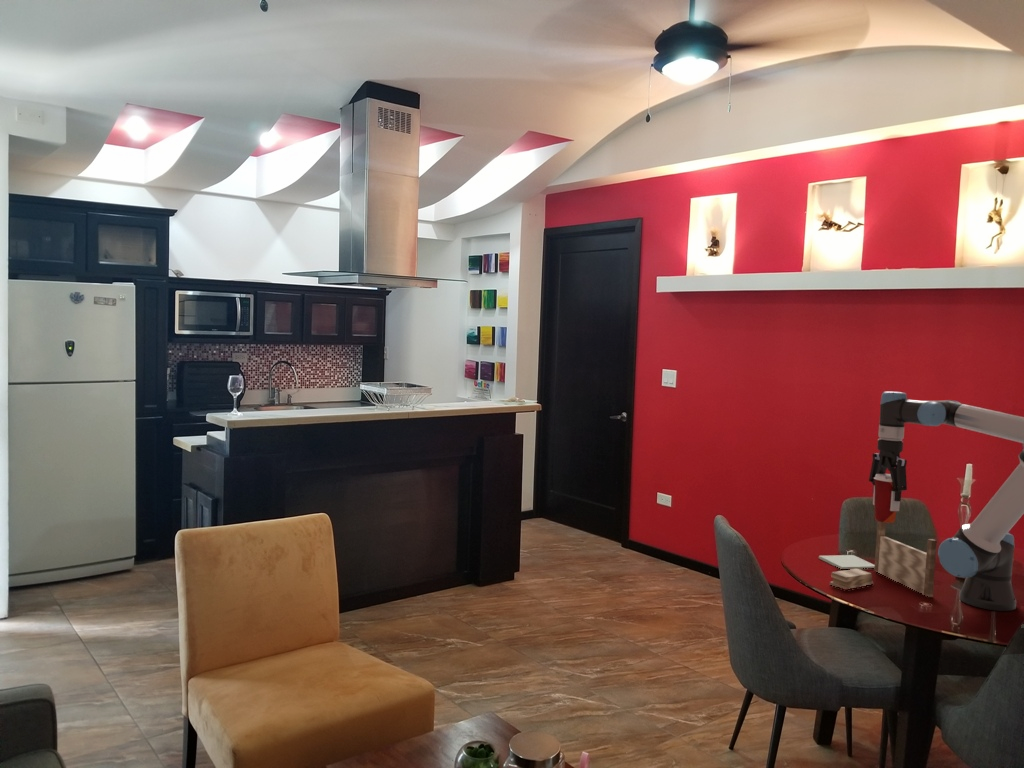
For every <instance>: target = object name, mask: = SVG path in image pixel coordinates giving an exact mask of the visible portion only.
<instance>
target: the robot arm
mask: <svg viewBox="0 0 1024 768" xmlns="http://www.w3.org/2000/svg"><path fill="white" fill-rule="evenodd" d="M907 395H908V394H907V393H906V392H901V391H883V392H882V394H881V395H880V396H881V398H880V404H879V406H880V407H879V422H878V423H879V424H878V437H879V438H878V439H877V444H876V445H877V447H876V448H877V450H878V451H879V452H878V453H877V452H876V453H875V452H874V453H872V463H871V468H870V473H869V477H868V481H869V482H870V483H871V484H872V495H873V496H872V505H873V506H875V479H874V477H875V475H876V474H886V472H887V470H888V472H889V474H891V479H892V481H893V482H892V484H893V490H892V493H891V507H890V511H896V512H900V507H901V506H900V505H901V501H902V492H903V491H907V489H908V485H907V484H908V483H907V482H908V480H907V463H908V460H907V459H904V458H901V455H900V454H901V453H902V452H903V449H904V441H903V439H905V437H904V436H905V425H906V424H916V425H922V426H926V427H939V426H941V425H948V426H952V427H956V428H961V429H966V430H967V431H968V430H969V431H973V432H975V433H976V432H977V433H980V434H981V433H982V434H983V435H984V434H985V435H989V436H992V437H997V438H1001V439H1005V440H1007V441H1008V440H1009V441H1013V442H1017V443H1020V444H1022V448H1023V449H1022V451H1021V452H1020V453H1019V454H1018V460H1019V464H1018V465H1017V466H1016V468H1014V470H1013V471H1012V472H1011V474H1010V475H1009V476H1008V477H1007V479H1006V480H1005V481H1004V482H1003V483H1002V485H1001V486H1000V487H999V489H998V490H997V491H996V492H995V494H994V495H993V496H992V497H991V498H990V499H989V501H988V503H987V504H986V505H985V506H984V507H983V508H982V510H981V511H980V512H979V514H978V515H977V516H976V517H975V518H974V520H973V521H972V522H971V523H964V524H962V525H961V527H960V528H959V529H958V530H957V531H956V533H955V534H954V535H953V536H952V537H948V538H945V540H943V541H942V542H941V543H940V545H939V547H938V550H937V556H938V558H939V563H940V565H941V566H942V568H943V569H944V570H945V571H946V572H947V573H948V574H950V575H952V576H953V577H957V578H965V579H964V582H963V585H962V587H961V588H960V589H959V593H958V595H959V597H958V599H959V600H960V601H961V602H963V603H965V604H967V605H969V606H972V607H975V608H979V609H985V610H988V611H989V610H990V611H997V612H1011V611H1015V610H1016V609H1017V599H1016V597H1015V592H1014V588H1013V585H1012V575H1013V563H1014V552H1015V547H1016V546H1015V537H1014V535H1013V534H1011V533H1010V531H1011V529H1013V527H1014V526H1015V525H1016V524H1017V522H1018V521H1019V520H1020V519H1021V518H1022V516H1024V416H1021V415H1020V416H1019V415H1015V414H1010V413H1005V412H1002V411H996V410H992V409H988V408H983V407H979V406H975V405H969V404H964V403H961V402H959V400H958V401H957V400H953V399H945V400H918V399H908V397H907ZM897 486H898V487H897Z"/></svg>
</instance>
